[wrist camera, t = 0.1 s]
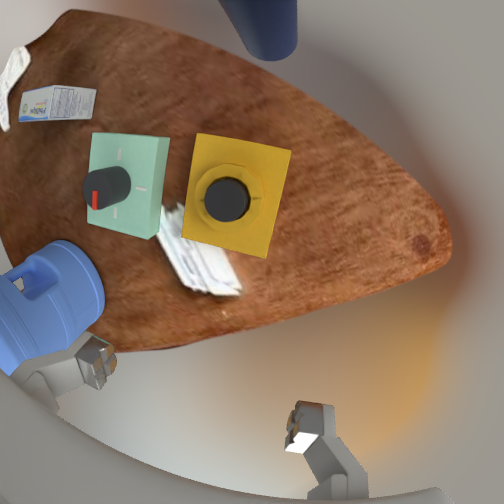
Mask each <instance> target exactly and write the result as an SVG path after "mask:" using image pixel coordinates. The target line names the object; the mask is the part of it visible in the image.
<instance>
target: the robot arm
mask: <svg viewBox="0 0 504 504" xmlns="http://www.w3.org/2000/svg"><path fill="white" fill-rule="evenodd" d="M114 350H115V348H114V344H112V343H110V342H107V341H105V340H103V339H101V338H99V337H98V336H96V335H94V334H92V333H90V332H88V331H85V332H83V333H82V334H81V335H80V336H79V337H78V338H77V339H76V340H75V341H74V342H73V343H72V344H71V345H70V346H69V347H68V349H67V350H66V351H64V350H60V351H57V352H53V353H50V354H46V355H43V356H39V357H35V358H32V359H28V360H24V361H23V362H22V363H21V364H20V365H19V366H18V367H17V368H16V369H15V370H14V371H13V373H12V374H11V375H10V376H8V375H7V374H6V373H5V372H4V371H3V370H2V369H1V368H0V504H455V503H454V502H453V500H452V499H451V498H450V497H448V495H446V494H445V493H444V492H443V491H442V490H441V489H439V488H436V487H434V488H428V489H424V490H420V491H415V492H410V493H405V494H399V495H393V496H385V497H377V498H369V495H368V494H369V493H368V477H367V472H366V471H365V470H364V468H363V467H362V466H361V465H360V464H359V462H358V461H357V460H356V458H355V457H354V456H353V455H352V453H351V452H350V451H349V449H348V448H347V447H346V446H345V444H344V443H343V441H342V440H341V439H340V437H336V428H335V412H334V406H333V405H326V404H321V403H313V402H306V401H298V402H297V403H296V405H295V410H292V412H291V413H290V415H289V418H288V422H287V431H288V433H289V434H288V435H287V437H286V439H285V451H290V452H296V453H304V454H303V455H304V457H305V459H306V461H307V462H308V464H309V466H310V468H311V470H312V472H313V474H314V475H315V477H316V479H317V481H318V483H319V485H318V486H317V487H315V488H314V489H312V490H311V491H309V492H308V497H307V500H303V499H289V498H278V497H269V496H262V495H256V494H250V493H244V492H239V491H233V490H229V489H225V488H220V487H216V486H212V485H208V484H204V483H201V482H197V481H194V480H191V479H187V478H184V477H181V476H178V475H175V474H172V473H169V472H167V471H164V470H161V469H159V468H156V467H153V466H151V465H148V464H145V463H144V462H141V461H139V460H137V459H134V458H132V457H130V456H128V455H126V454H124V453H121V452H119V451H117V450H115V449H113V448H111V447H110V446H108V445H106V444H104V443H102V442H100V441H98V440H97V439H95V438H93V437H91V436H89V435H88V434H86V433H84V432H83V431H81V430H79V429H78V428H76V427H75V426H73V425H71V424H70V423H68V422H67V421H65V420H64V419H62V418H61V417H59V416H58V415H57V414H56V413H57V412H58V410H59V405H58V403H57V401H56V400H55V398H56V397H59V396H61V395H63V394H65V393H67V392H69V391H71V390H74V389H76V388H78V387H80V386H82V385H84V384H85V383H86V384H88V385H90V386H92V387H93V388H95V389H97V390H99V391H100V390H101V388H102V387H103V386H104V384H105V383H106V381H107V379H106V376H109V375H111V374H112V373H113V372H114V370H115V367H116V364H117V359H116V356H115V354H114V353H113V352H114Z"/></svg>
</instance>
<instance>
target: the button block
mask: <svg viewBox="0 0 504 504" xmlns="http://www.w3.org/2000/svg"><path fill="white" fill-rule="evenodd" d="M291 152H292V151H291V150H287V149H283V148H279V147H274V146H270V145H265V144H260V143H255V142H250V141H245V140H240V139H234V138H228V137H222V136H216V135H210V134H203V133H197V136H196V141H195V147H194V152H193V158H192V164H191V170H190V176H189V183H188V190H187V197H186V204H185V212H184V219H183V228H182V236H181V237H182V238H186V239H190V240H194V241H198V242H202V243H206V244H210V245H214V246H217V247H221V248H225V249H229V250H233V251H237V252H241V253H245V254H249V255H253V256H257V257H261V258H265V259H266V256H267V252H268V248H269V244H270V240H271V236H272V232H273V228H274V224H275V220H276V215H277V211H278V207H279V203H280V199H281V195H282V190H283V186H284V182H285V178H286V174H287V169H288V165H289V161H290V156H291ZM223 179H233V180H236V181H238V182H239V183H241V184H242V185H243V186H244V188H245V189H246V191H247V195H248V204H247V207H246V209H245V210H244V212H243V213H242V214H241V215H240V216H239V217H238V218H237V219H235V220H234V221H231V222H220V221H217V220H215V219H214V218H212V217H211V216H210V215H209V214H208V212H207V210H206V208H205V205H204V197H205V193H206V191H207V189H208V188H209V187H210V186H211V185H212V184H214V183H216V182H218V181H220V180H223Z"/></svg>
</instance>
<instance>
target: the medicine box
mask: <svg viewBox="0 0 504 504" xmlns="http://www.w3.org/2000/svg"><path fill="white" fill-rule="evenodd" d="M95 96H96V89H88V88H80V87H71V86H60V85H52V86H47V87H42V88H38V89H34V90H29V91H25V92H24V93H23V95H22V100H21V106H20V112H19V122H31V121H46V120H67V119H91V118H92V113H93V107H94V101H95Z"/></svg>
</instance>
